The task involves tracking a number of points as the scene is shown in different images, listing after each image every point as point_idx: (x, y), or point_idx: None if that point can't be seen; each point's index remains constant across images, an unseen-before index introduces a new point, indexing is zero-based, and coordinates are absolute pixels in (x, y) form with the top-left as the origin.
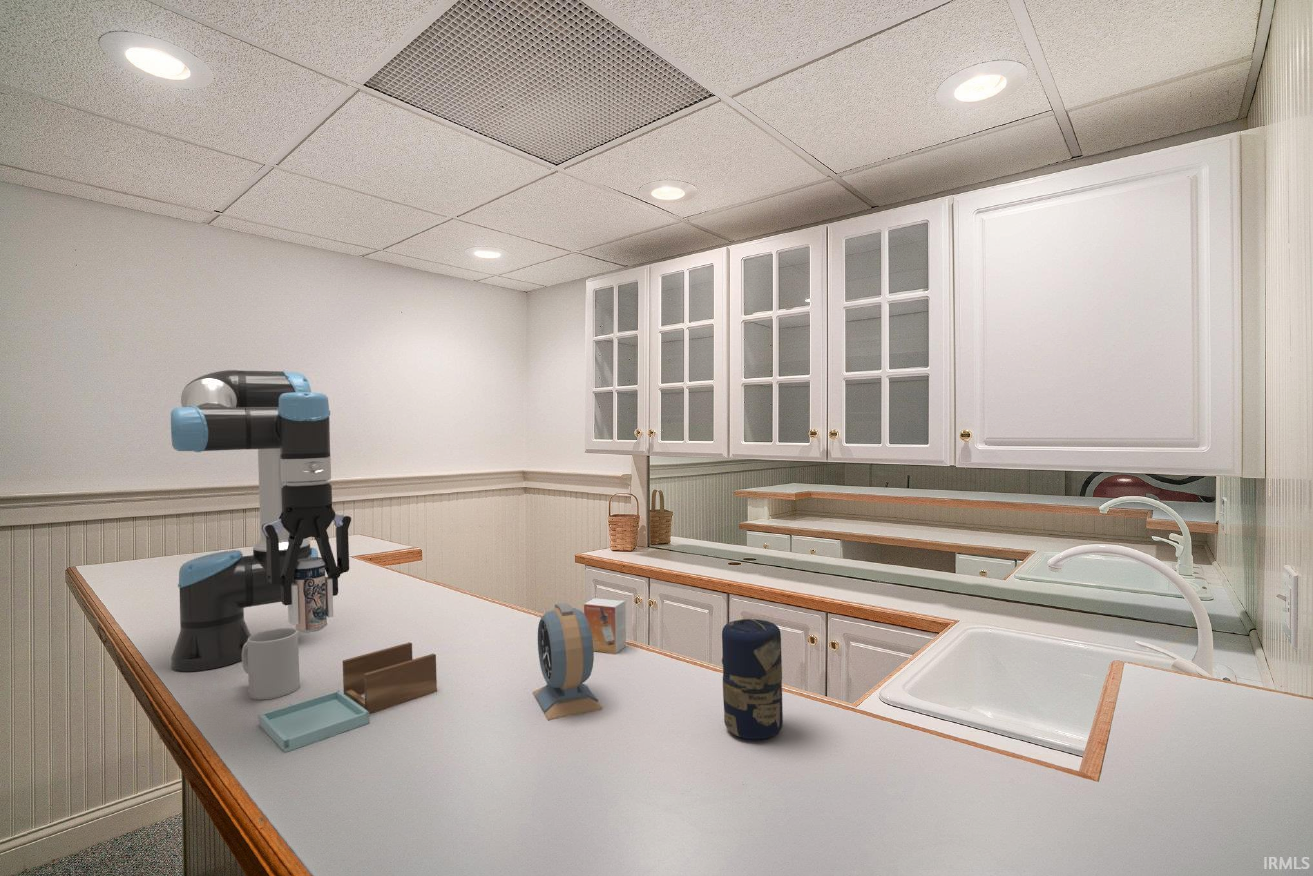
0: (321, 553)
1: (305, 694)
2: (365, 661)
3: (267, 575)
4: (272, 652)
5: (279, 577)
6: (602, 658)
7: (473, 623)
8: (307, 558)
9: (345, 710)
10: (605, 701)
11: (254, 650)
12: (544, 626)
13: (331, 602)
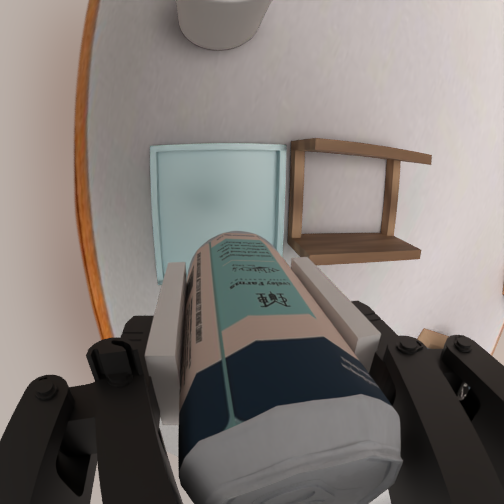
0: (423, 487)
1: (250, 71)
2: (350, 153)
3: (19, 409)
4: (208, 12)
5: (94, 463)
6: (494, 294)
7: (500, 60)
8: (344, 457)
9: (267, 214)
10: None
11: None
12: (463, 397)
13: None
